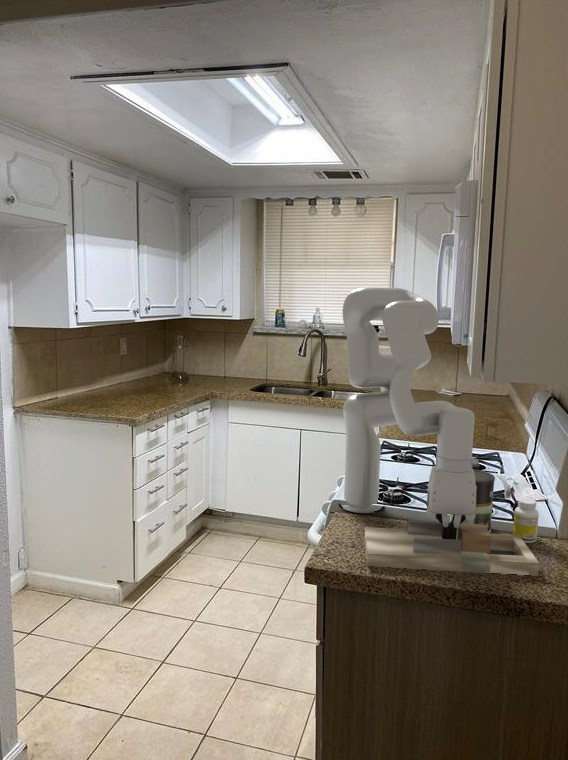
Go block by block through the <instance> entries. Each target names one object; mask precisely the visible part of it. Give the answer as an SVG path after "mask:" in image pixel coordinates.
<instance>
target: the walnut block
mask: <svg viewBox="0 0 568 760" xmlns="http://www.w3.org/2000/svg"><path fill="white" fill-rule="evenodd" d="M491 534H492V533H491V532H490V533H489V531H488V529H487V527H486V525H480V524H463V523H461V524H460V525H459V527H458V532H457V540H460V541H461V550H462V551H464V552H480V553H490V547H491Z"/></svg>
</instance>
